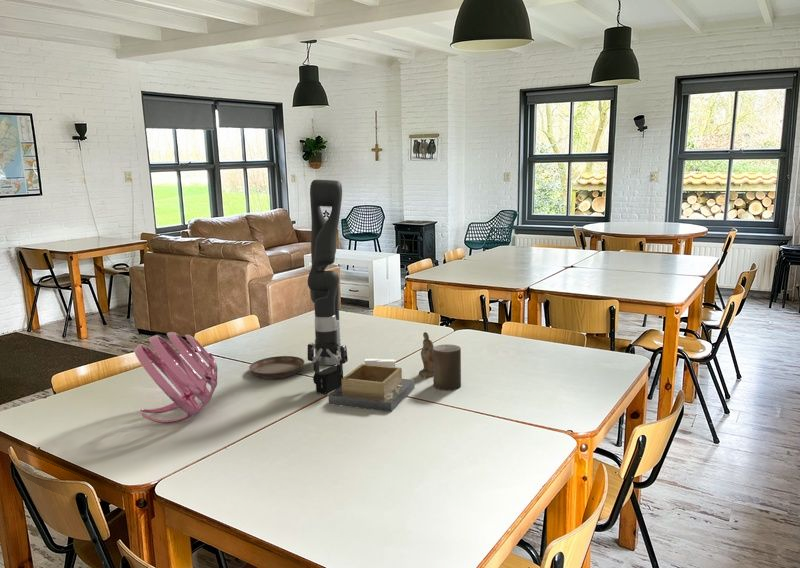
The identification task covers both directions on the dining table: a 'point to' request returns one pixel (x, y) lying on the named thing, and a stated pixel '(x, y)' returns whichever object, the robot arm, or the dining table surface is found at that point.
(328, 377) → the digital camera
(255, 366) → the plant saucer
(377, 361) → the white offset rectangular block
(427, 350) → the worn brown figurine
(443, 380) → the pillar candle
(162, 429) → the dining table surface
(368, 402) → the square wooden box
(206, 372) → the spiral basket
